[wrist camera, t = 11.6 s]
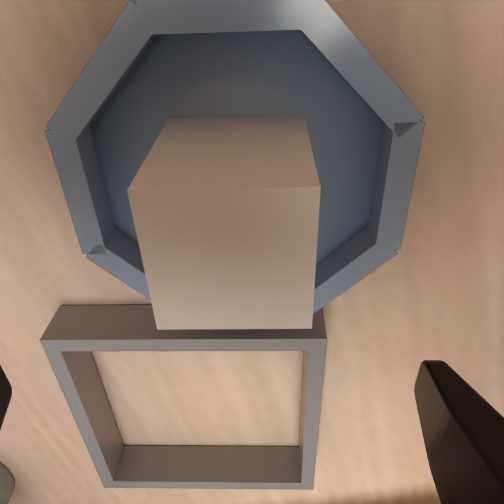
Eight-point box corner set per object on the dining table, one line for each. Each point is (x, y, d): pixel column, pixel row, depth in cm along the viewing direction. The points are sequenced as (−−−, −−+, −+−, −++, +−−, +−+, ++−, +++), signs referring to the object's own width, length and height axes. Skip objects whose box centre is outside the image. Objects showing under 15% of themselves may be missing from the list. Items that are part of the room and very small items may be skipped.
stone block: (303, 114, 16) (320, 186, 11) (299, 230, 19) (312, 328, 14) (169, 118, 16) (127, 190, 11) (185, 232, 19) (157, 329, 14)
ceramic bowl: (424, -19, 14) (451, -15, 12) (374, 286, 22) (386, 321, 20) (41, -5, 15) (5, 1, 13) (119, 288, 22) (103, 323, 20)
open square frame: (321, 303, 22) (326, 338, 20) (309, 453, 30) (313, 489, 28) (60, 305, 23) (39, 340, 21) (114, 451, 31) (104, 487, 29)
